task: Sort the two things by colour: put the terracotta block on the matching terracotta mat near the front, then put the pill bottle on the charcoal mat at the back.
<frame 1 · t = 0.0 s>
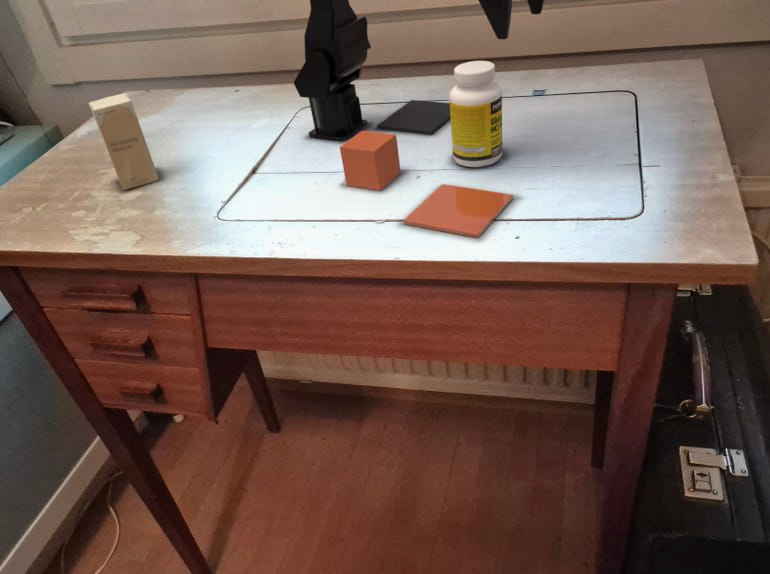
hand: (520, 25, 73), 15 cm above the table, tool pointing down, fingers open, 9 cm apart
terracotta block: (373, 179, 82), on the table
charcoal mat: (421, 118, 96), on the table
box: (140, 181, 92), on the table
terracotta mat: (458, 211, 73), on the table
pill bottle: (478, 159, 83), on the table
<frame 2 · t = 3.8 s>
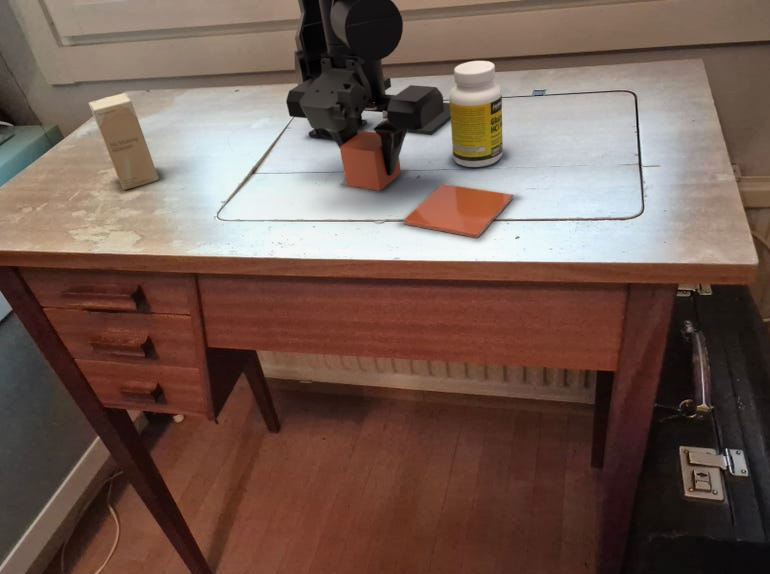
hand: (372, 171, 82), 1 cm above the table, tool pointing down, fingers closed on terracotta block, 5 cm apart
terracotta block: (373, 179, 82), on the table, touching gripper
everything else where it was.
when the fingers open (1 cm above the table, at t = 8.8 s): terracotta block stays where it is, resting on terracotta mat.
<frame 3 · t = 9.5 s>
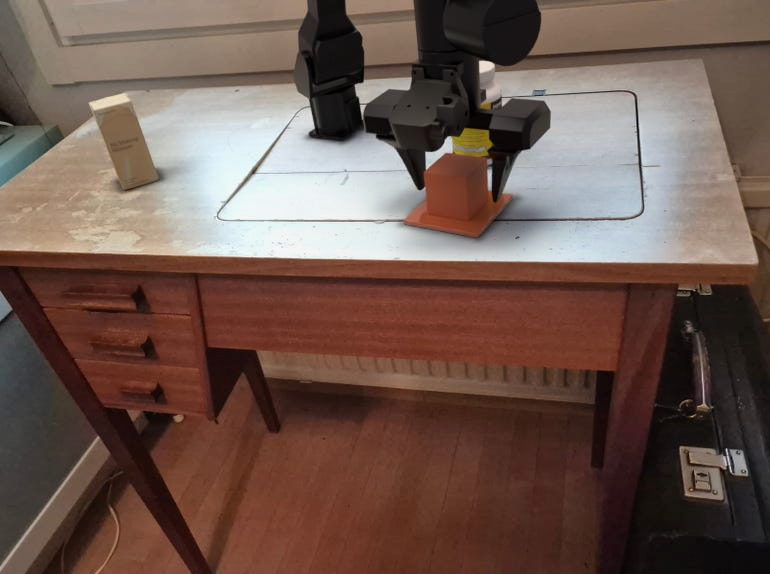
hand: (457, 194, 72), 2 cm above the table, tool pointing down, fingers open, 9 cm apart
terracotta block: (458, 207, 73), resting on terracotta mat
everything else where it was.
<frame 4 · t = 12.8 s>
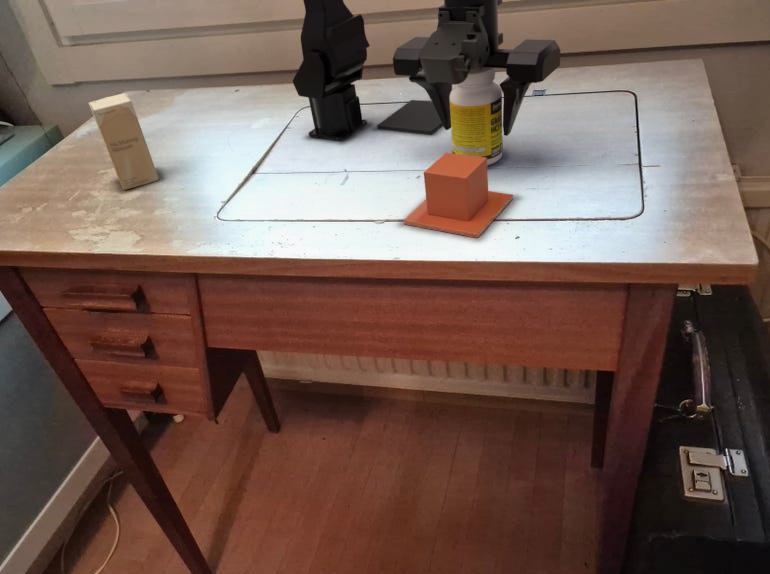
hand: (476, 131, 81), 3 cm above the table, tool pointing down, fingers closed on pill bottle, 8 cm apart
pill bottle: (478, 159, 83), on the table, touching gripper
everything else where it was.
when the fingers open (4 cm above the table, at t = 18.2 s): pill bottle stays where it is, resting on charcoal mat.
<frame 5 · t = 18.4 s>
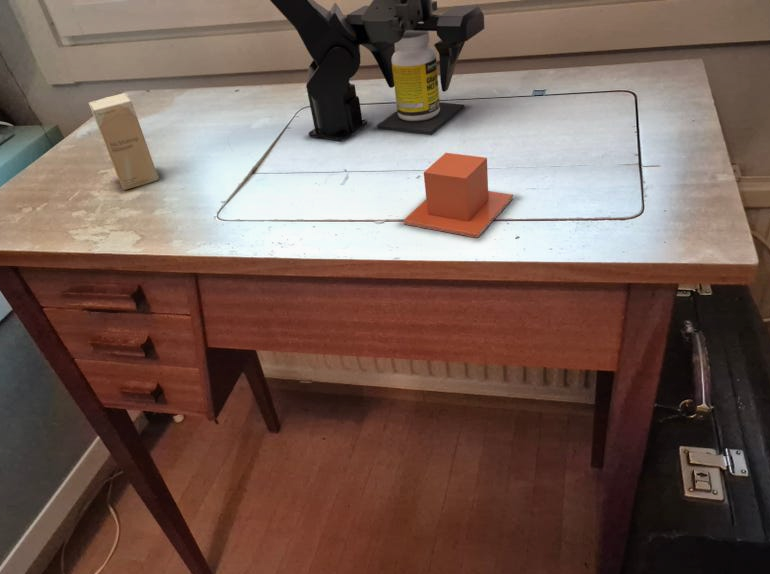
hand: (418, 88, 93), 4 cm above the table, tool pointing down, fingers open, 8 cm apart
pill bottle: (419, 115, 96), resting on charcoal mat
everything else where it was.
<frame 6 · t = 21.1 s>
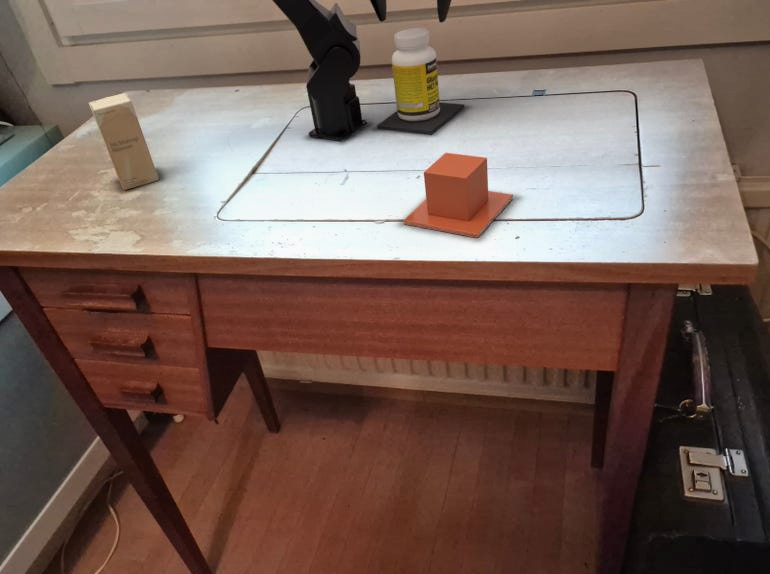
hand: (411, 21, 87), 13 cm above the table, tool pointing down, fingers open, 9 cm apart
nothing on the table moved.
at the end: terracotta block inside the target area on the terracotta mat (0.0 cm from its centre), point 0.5 cm above the terracotta mat's base; pill bottle inside the target area on the charcoal mat (0.3 cm from its centre), point 0.3 cm above the charcoal mat's base; pill bottle tilted 0° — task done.
